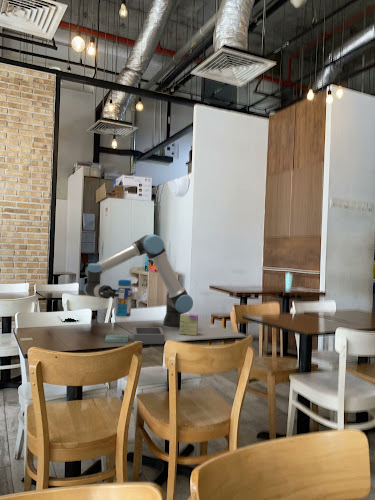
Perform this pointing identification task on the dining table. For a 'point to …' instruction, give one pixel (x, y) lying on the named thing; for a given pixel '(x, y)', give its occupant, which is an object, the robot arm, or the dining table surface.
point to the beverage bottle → (124, 304)
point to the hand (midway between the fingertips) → (129, 295)
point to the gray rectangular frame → (148, 335)
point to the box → (189, 324)
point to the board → (116, 338)
